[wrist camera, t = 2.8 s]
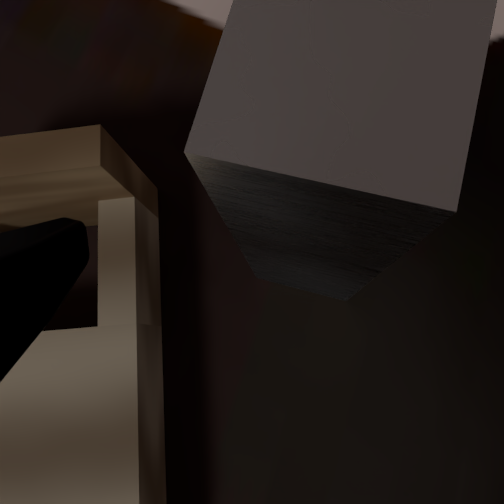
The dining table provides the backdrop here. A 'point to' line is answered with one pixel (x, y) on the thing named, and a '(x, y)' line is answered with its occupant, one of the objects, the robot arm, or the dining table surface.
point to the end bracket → (338, 131)
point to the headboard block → (87, 333)
